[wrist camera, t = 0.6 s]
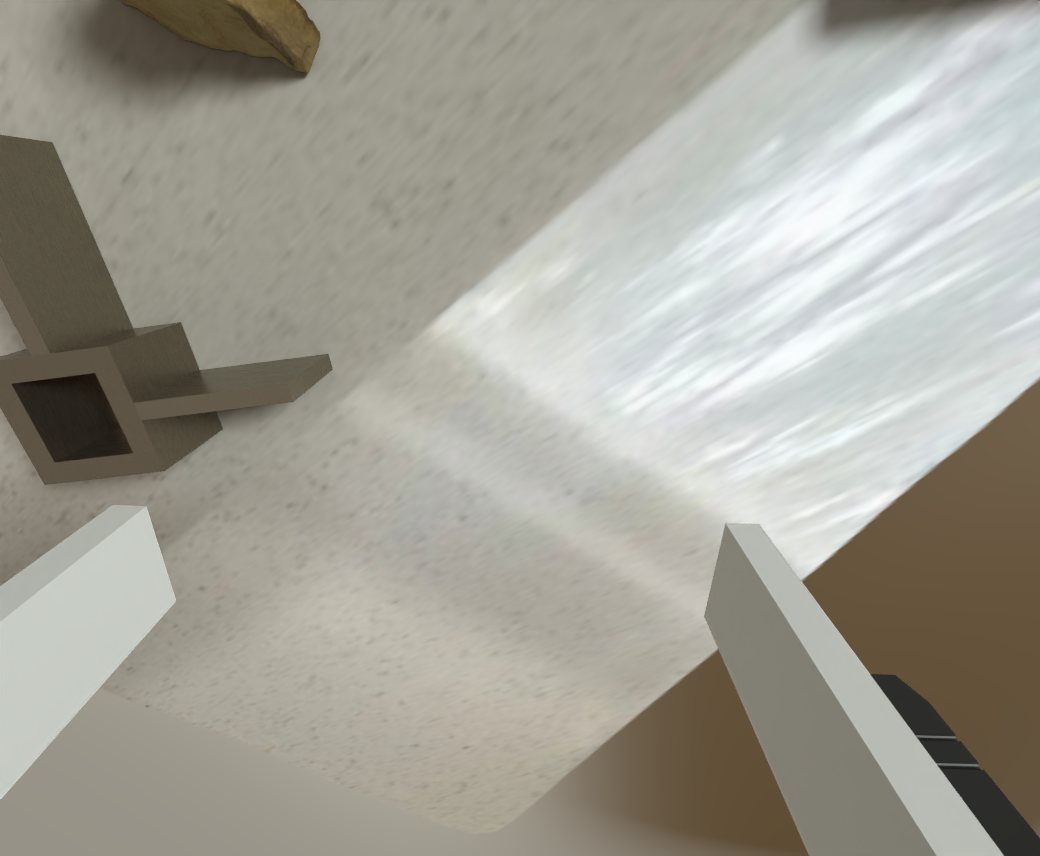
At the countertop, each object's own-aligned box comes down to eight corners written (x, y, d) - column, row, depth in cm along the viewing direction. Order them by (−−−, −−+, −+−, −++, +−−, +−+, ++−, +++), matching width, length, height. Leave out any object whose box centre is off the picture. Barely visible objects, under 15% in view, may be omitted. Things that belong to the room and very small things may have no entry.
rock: (359, 3, 27) (198, -224, 23) (247, 54, 23) (18, -218, 18) (289, 119, 35) (159, -33, 31) (195, 175, 30) (26, 5, 26)
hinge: (-19, 153, 32) (-154, 139, 26) (258, 109, 31) (189, 83, 25) (121, 441, 40) (44, 484, 34) (345, 414, 39) (310, 453, 33)
